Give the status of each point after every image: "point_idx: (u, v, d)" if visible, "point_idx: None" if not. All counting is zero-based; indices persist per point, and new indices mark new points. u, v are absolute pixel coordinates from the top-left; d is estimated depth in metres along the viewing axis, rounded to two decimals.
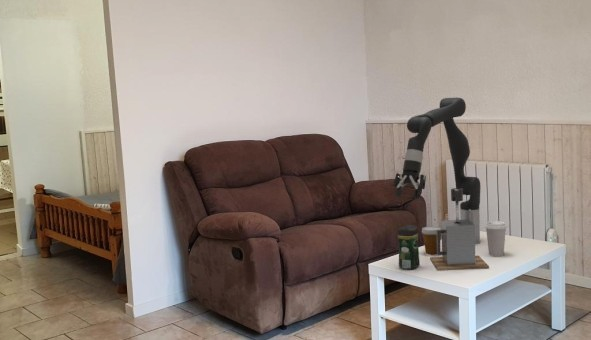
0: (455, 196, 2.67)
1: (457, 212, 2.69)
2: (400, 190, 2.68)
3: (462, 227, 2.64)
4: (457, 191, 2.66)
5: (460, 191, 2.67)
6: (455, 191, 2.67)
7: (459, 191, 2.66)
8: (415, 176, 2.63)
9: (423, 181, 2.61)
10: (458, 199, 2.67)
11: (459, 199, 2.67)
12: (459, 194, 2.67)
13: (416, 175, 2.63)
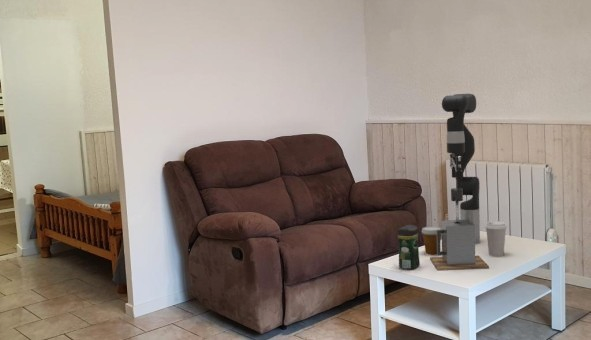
0: (455, 196, 2.67)
1: (457, 212, 2.69)
2: (454, 170, 2.72)
3: (462, 227, 2.64)
4: (457, 191, 2.66)
5: (460, 191, 2.67)
6: (455, 191, 2.67)
7: (459, 191, 2.66)
8: (455, 158, 2.64)
9: (458, 163, 2.61)
10: (458, 199, 2.67)
11: (459, 199, 2.67)
12: (459, 194, 2.67)
13: (455, 157, 2.64)
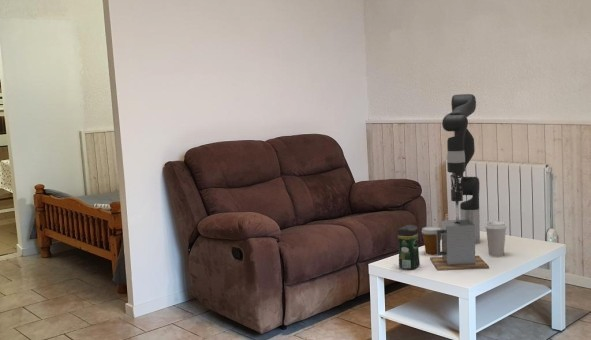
0: (455, 196, 2.67)
1: (457, 212, 2.69)
2: None
3: (462, 227, 2.64)
4: None
5: None
6: None
7: None
8: (455, 177, 2.65)
9: (458, 185, 2.62)
10: None
11: None
12: None
13: (455, 177, 2.65)
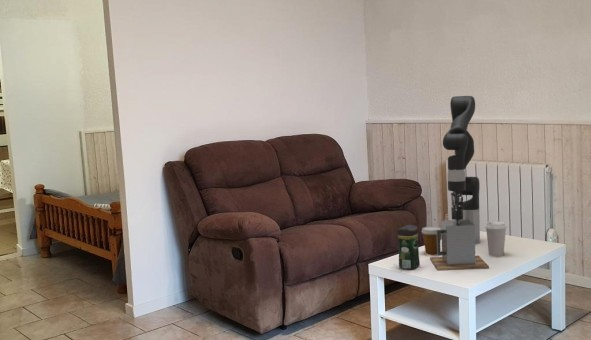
0: (455, 215, 2.68)
1: None
2: None
3: (462, 227, 2.64)
4: None
5: None
6: (455, 210, 2.68)
7: None
8: (455, 196, 2.66)
9: (459, 204, 2.63)
10: None
11: None
12: None
13: (456, 195, 2.66)
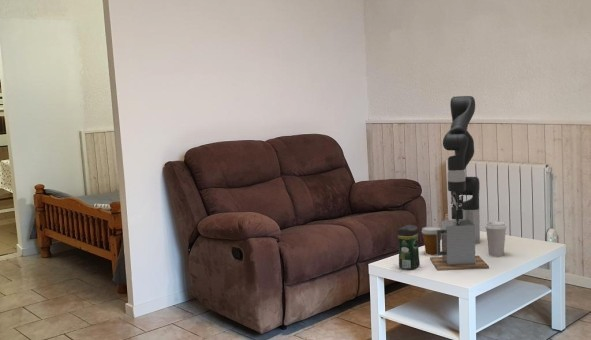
0: (455, 215, 2.68)
1: None
2: None
3: (462, 227, 2.64)
4: None
5: None
6: (455, 209, 2.68)
7: None
8: (455, 196, 2.66)
9: (459, 202, 2.62)
10: None
11: None
12: None
13: (456, 195, 2.66)
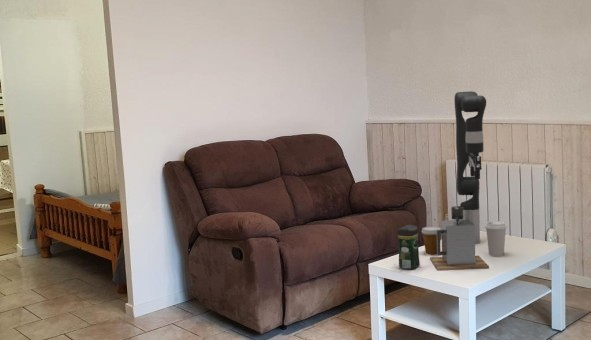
0: (455, 215, 2.68)
1: None
2: (473, 169, 2.77)
3: (462, 227, 2.64)
4: (457, 209, 2.67)
5: (460, 209, 2.68)
6: (455, 209, 2.68)
7: (459, 209, 2.67)
8: (473, 157, 2.69)
9: (477, 163, 2.66)
10: (458, 217, 2.68)
11: (459, 217, 2.68)
12: (459, 212, 2.68)
13: (474, 156, 2.69)
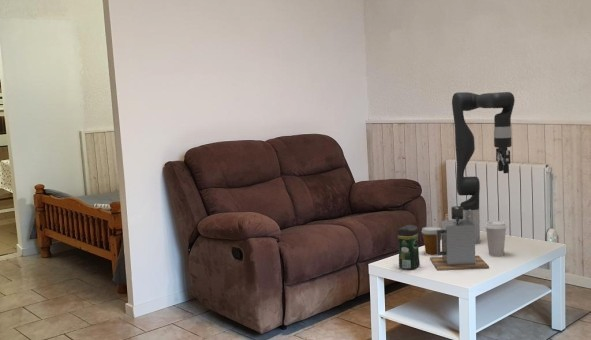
0: (455, 215, 2.68)
1: None
2: (500, 164, 2.84)
3: (462, 227, 2.64)
4: (457, 209, 2.67)
5: (460, 209, 2.68)
6: (455, 209, 2.68)
7: (459, 209, 2.67)
8: (502, 152, 2.77)
9: (506, 157, 2.73)
10: (458, 217, 2.68)
11: (459, 217, 2.68)
12: (459, 212, 2.68)
13: (502, 151, 2.76)
